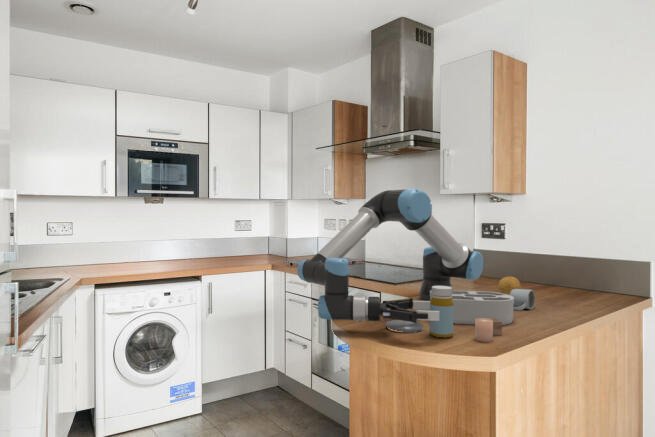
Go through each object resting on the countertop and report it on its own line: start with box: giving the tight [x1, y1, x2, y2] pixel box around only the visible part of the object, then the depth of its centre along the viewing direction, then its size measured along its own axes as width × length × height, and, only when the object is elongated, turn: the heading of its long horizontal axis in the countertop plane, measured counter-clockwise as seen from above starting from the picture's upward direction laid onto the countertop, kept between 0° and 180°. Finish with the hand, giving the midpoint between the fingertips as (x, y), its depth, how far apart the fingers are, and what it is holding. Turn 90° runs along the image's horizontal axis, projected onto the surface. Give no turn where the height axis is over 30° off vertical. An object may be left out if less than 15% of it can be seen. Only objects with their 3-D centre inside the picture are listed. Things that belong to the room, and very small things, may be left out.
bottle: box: [429, 286, 454, 339], centre depth 134 cm, size 7×7×15 cm
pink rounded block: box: [474, 318, 494, 343], centre depth 130 cm, size 5×5×6 cm
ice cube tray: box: [430, 290, 514, 326], centre depth 155 cm, size 17×28×9 cm, turn 82°
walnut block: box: [488, 318, 503, 337], centre depth 136 cm, size 4×4×4 cm
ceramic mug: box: [509, 288, 536, 311], centre depth 171 cm, size 11×8×8 cm
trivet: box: [385, 319, 424, 332], centre depth 142 cm, size 12×12×1 cm
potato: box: [497, 276, 522, 295], centre depth 193 cm, size 10×13×9 cm
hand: (436, 310), depth 134 cm, fingers open, 13 cm apart
